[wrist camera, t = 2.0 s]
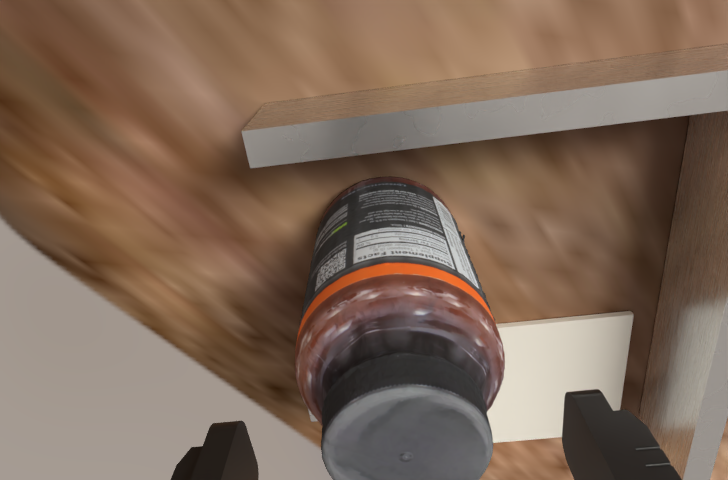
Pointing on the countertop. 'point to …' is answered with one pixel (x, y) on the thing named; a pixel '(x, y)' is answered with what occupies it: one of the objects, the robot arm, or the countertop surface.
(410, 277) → the supplement bottle
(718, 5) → the countertop surface
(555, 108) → the grey angled wall frame
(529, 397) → the pad
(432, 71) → the countertop surface
